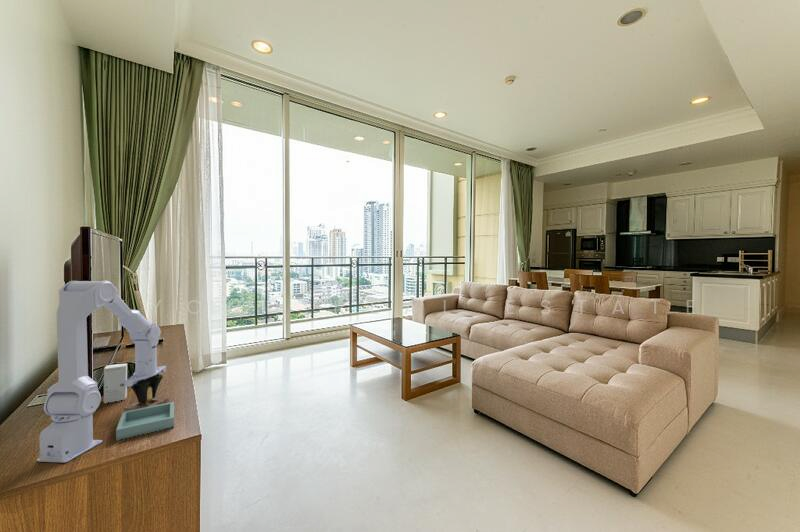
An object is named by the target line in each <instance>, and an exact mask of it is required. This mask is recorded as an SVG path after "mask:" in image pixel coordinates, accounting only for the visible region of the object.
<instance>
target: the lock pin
mask: <svg viewBox="0 0 800 532" xmlns="http://www.w3.org/2000/svg"><path fill="white" fill-rule="evenodd" d="M152 403H153V401H152V385H149V387H148V390H147V400H146V402H145V403H141V406H149V405H151V404H152Z"/></svg>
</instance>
